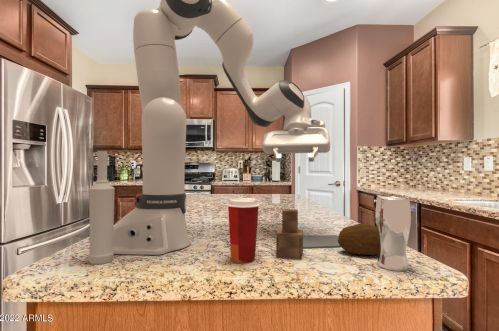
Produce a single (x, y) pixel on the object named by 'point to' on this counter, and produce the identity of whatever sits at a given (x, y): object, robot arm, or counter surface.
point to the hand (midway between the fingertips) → (294, 160)
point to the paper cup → (243, 228)
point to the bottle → (101, 215)
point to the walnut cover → (289, 236)
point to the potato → (359, 239)
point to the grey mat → (320, 241)
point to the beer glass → (393, 231)
